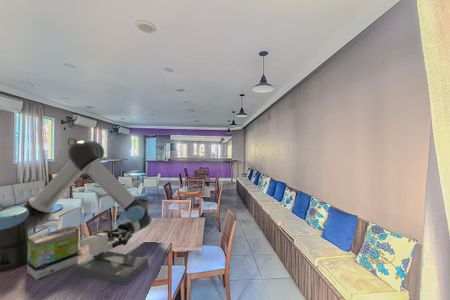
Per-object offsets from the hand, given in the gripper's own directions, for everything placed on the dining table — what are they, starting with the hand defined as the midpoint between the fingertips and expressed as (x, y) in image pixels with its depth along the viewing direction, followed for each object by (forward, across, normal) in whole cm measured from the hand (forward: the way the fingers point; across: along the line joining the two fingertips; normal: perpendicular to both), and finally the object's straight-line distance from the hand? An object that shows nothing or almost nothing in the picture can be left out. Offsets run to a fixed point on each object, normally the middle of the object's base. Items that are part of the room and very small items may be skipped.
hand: (92, 246), depth 92 cm
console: (-3, -8, -10) cm, 13 cm away
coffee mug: (-12, +28, -10) cm, 32 cm away
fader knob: (-3, 0, -7) cm, 7 cm away
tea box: (+4, +17, -10) cm, 20 cm away
